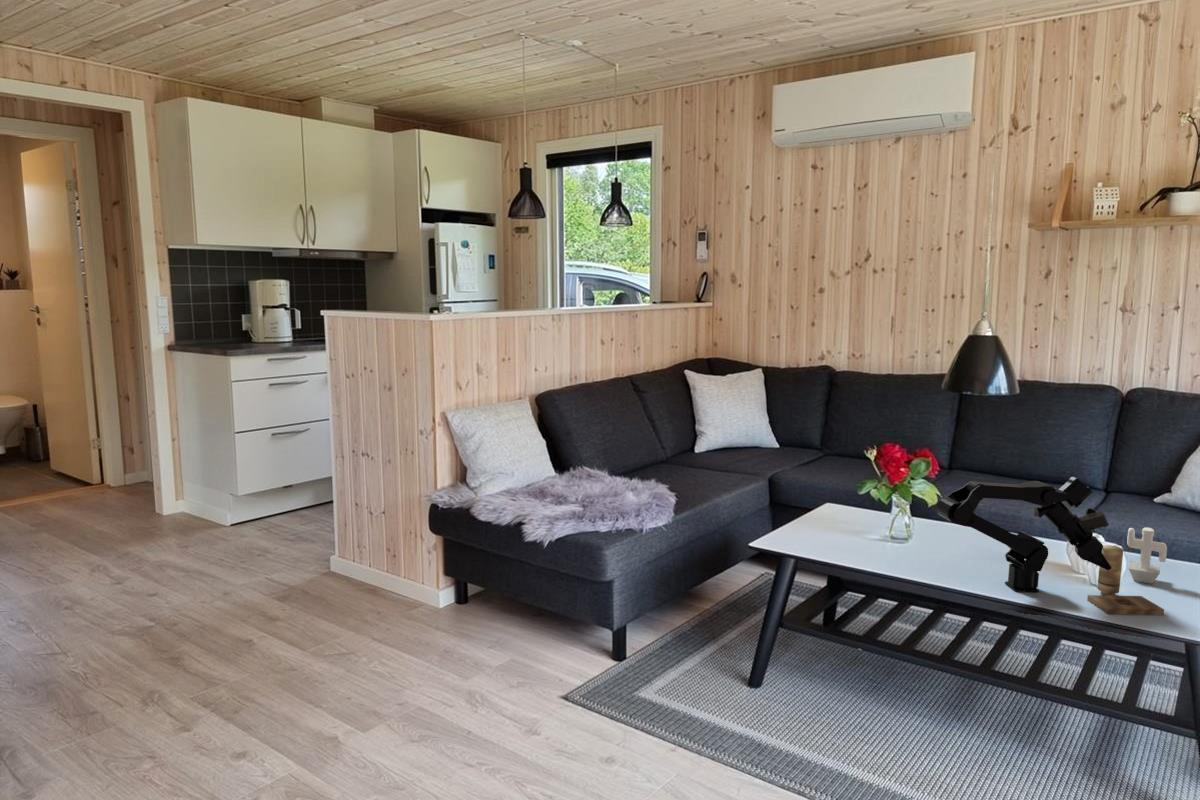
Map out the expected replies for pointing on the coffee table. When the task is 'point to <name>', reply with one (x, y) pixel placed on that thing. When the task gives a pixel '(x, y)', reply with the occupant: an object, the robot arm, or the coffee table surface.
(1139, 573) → the figurine
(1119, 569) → the oak peg
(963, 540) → the coffee table surface
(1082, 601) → the coffee table surface
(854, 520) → the coffee table surface
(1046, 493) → the robot arm
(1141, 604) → the walnut board
